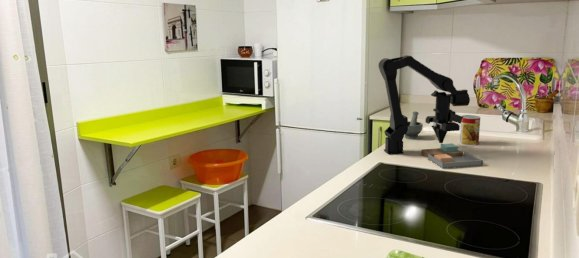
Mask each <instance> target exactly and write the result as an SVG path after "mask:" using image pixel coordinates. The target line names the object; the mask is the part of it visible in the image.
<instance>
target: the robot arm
mask: <svg viewBox="0 0 579 258" xmlns="http://www.w3.org/2000/svg"><path fill="white" fill-rule="evenodd" d="M406 67H407V68H409V69H411V70H413V71H414V72H416V73H417V74H418V75H420V76H422V77H424V78H425V79H427V80H428V82H430V83H431V85H432V86H433V87H435V88H436V89H437V90H434V91H433V92H432V93H431V94H430V96H432V97H435V108H433V112H434V115H428V116H426V117H425V123H426V124H430V123H433V124H432V125H431V128H432V130H433V132H434V134H435V136H436V138H437V140H438V142H439V144H444V143H443V142H444V140H445V138H446V135H447V133H448V132H455V131H456V132H457V131H461V121H462V119H463V117H462V116H463V115H459V114H457V113H456V111H455V110H452V109H451V106H452V107H468V106H469V104H470V102H471V99H470V95H469V93H468V89H457V88H456V87H455V85H454V80H453V79H452V78H451V77H448V76H446V75H443V74H441V73H438V72H436V71H434V70H432V69H431V68H429V67H428V66H426V65H424V64H423V63H422V62H420V61H418V60H417V59H415V58H414V57H413V56H412V55H408V54H407V55H403V56H399V57H393V58H388V57H387V58H385V57H383V58H382V59H381V60H380V61H379V62H378V69H379V73H380V74H381V75H380V76H382V79H383V80H384V83H385V89H386V94H387V100H388V104H389V105H388V106H389V110H390V111H389V112H390V116H389V126H388V127H387V128H386V129H385V130H384V132H383V133H384V135H385V142H384V143H385V145H384V147H385V148H384V149H383V152H385V153H387V154H388V155H397V154H401V155H402V154H404V141H403V140H404V138H405V134H406V133H407V131H408V127H409V125H408V122H409V118H408V117H407V116H406V115H404V114H403V112H402V108H401V102H400V97H399V92H398V84H397V75H398V70H401V69H403V68H406ZM439 90H440V91H439ZM446 92H447V93H446Z"/></svg>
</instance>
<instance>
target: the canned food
mask: <svg viewBox="0 0 579 258" xmlns="http://www.w3.org/2000/svg"><path fill="white" fill-rule="evenodd" d="M461 116H462V117H463V119H462V121H461V124H460V130H459V131H460V132H459V143H460V144H461V145H466V146H477V145H479V142H480V132H481V131H480V130H481V129H480V127H481V116H479V115H475V114H464V115H461Z"/></svg>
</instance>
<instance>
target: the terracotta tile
mask: <svg viewBox="0 0 579 258" xmlns="http://www.w3.org/2000/svg"><path fill="white" fill-rule="evenodd" d="M434 157H435V158H436V159H438V160H440V161H441V162H443V163H447V162H453V157H451V156H449V155H447V154H439V155H434Z"/></svg>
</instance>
